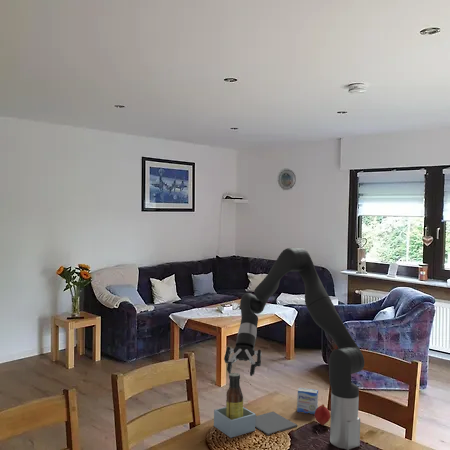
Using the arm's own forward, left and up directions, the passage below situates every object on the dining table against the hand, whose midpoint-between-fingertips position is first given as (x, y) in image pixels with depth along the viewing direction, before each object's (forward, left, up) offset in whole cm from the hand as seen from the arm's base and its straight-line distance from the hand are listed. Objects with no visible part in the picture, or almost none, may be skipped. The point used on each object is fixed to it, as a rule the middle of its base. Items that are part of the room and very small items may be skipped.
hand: (240, 373), depth 180 cm
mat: (-9, -8, -18) cm, 21 cm away
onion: (-20, -24, -18) cm, 36 cm away
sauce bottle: (-5, +6, -18) cm, 19 cm away
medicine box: (-8, -28, -18) cm, 34 cm away
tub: (-5, +6, -18) cm, 19 cm away
